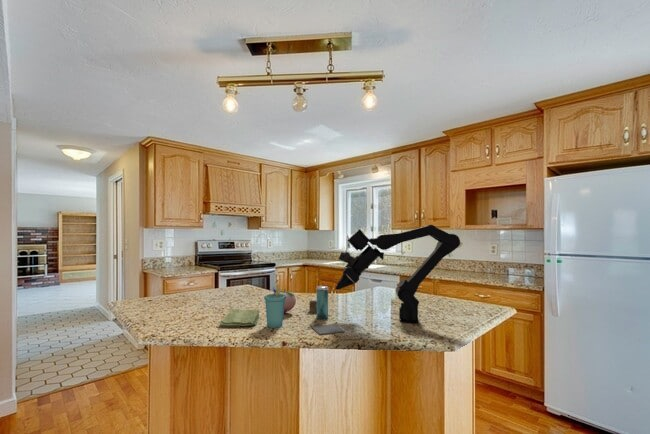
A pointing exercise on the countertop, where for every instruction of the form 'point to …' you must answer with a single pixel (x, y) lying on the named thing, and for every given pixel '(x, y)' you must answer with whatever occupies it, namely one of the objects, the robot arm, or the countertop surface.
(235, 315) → the washcloth
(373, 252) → the robot arm
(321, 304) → the tin
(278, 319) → the cup
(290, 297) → the decorative fruit
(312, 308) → the letter block
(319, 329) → the mat
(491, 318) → the countertop surface
